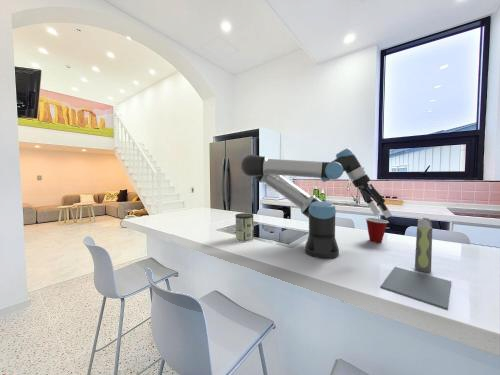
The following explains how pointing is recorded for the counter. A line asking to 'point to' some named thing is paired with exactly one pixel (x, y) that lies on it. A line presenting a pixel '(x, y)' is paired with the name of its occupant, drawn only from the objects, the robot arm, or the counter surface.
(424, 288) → the slate mat
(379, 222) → the plastic cup
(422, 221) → the patterned grey cylinder
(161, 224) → the counter surface
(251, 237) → the coffee can
